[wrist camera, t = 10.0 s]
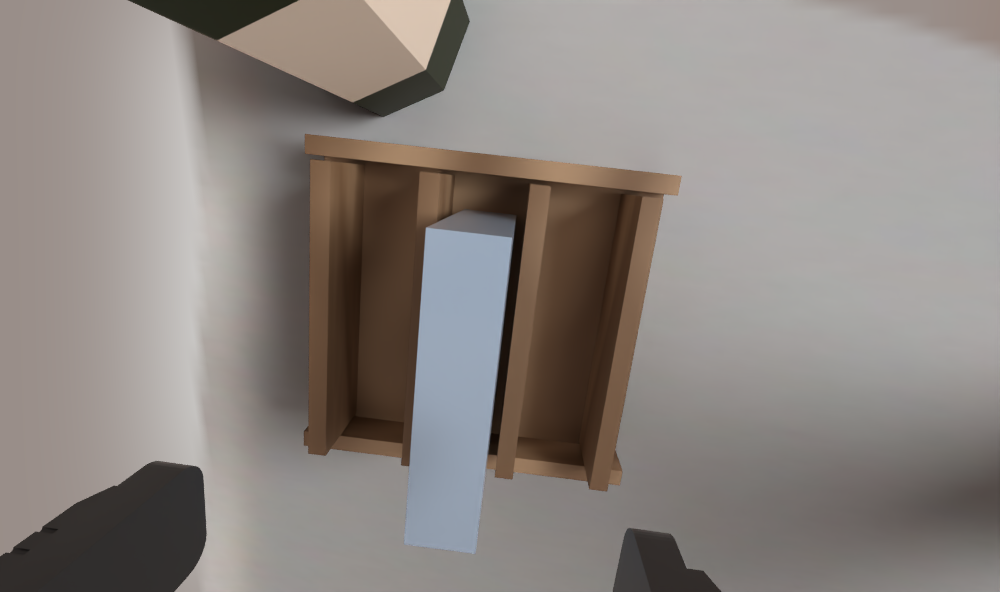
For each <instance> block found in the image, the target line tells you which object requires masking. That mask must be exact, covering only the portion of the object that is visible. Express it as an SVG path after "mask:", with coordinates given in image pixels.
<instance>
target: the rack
mask: <svg viewBox="0 0 1000 592" xmlns="http://www.w3.org/2000/svg"><path fill="white" fill-rule="evenodd" d="M305 154H313V155H321V156H324V161H323V160H313V159H310V274H309V426H308V427H307V428H306V429H305V431H304V445H305V446H308V454H316V455H324V456H326V454H327V453H328V452H329V450H330V449H337V450H345V451H353V452H361V453H368V454H376V455H384V456H392V457H400V458H402V461H401V465H403V466H409V465H410V451H411V436H412V422H413V407H414V393H415V379H416V364H417V350H418V335H419V321H420V306H421V292H422V278H423V263H424V249H425V234H426V227H428V226H430V225H433V224H435V223H437V222H439V221H441V220H443V219H445V218H447V217H449V216H451V215H453V214H456V213H458V212H460V211H462V210H464V209H469V210H477V211H486V212H495V213H503V214H512V215H517V218H516V226H515V235H514V243H513V252H512V260H511V269H510V277H509V286H508V294H507V303H506V312H505V320H504V329H503V337H502V346H501V354H500V363H499V371H498V380H497V388H496V397H495V405H494V414H493V422H492V430H491V438H490V445H489V453H488V461H487V469H495V470H496V471H495V477H497V478H505V479H512V478H513V472H518V473H526V474H534V475H542V476H550V477H558V478H566V479H574V480H582V481H588V485H589V489H592V490H600V491H607V489H608V484H613V485H620V481H621V476H622V468H621V465H620V463H619V460H618V457H617V454H616V451H615V448H616V443H617V437H618V432H619V427H620V422H621V417H622V412H623V406H624V401H625V396H626V391H627V386H628V380H629V375H630V370H631V365H632V360H633V355H634V349H635V344H636V339H637V334H638V329H639V324H640V318H641V313H642V308H643V303H644V298H645V293H646V287H647V282H648V277H649V272H650V267H651V261H652V256H653V251H654V246H655V241H656V236H657V230H658V225H659V220H660V215H661V210H662V205H663V196H664V194H668V195H678V192H679V187H680V182H681V177H682V176H677V175H668V174H660V173H651V172H642V171H633V170H624V169H615V168H606V167H597V166H588V165H579V164H570V163H561V162H552V161H543V160H534V159H525V158H516V157H507V156H498V155H489V154H480V153H471V152H462V151H453V150H444V149H435V148H426V147H417V146H408V145H399V144H390V143H381V142H372V141H363V140H354V139H345V138H336V137H328V136H319V135H310V134H305Z"/></svg>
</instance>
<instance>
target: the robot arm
mask: <svg viewBox="0 0 1000 592" xmlns="http://www.w3.org/2000/svg"><path fill="white" fill-rule="evenodd" d="M205 542H206V516H205V499H204V481H203V474H202V471H201V470H200V468H198V467H196V466H190V465H183V464H176V463H168V462H161V461H155V462H151V463H149V464H147V465H146V466H144V467H143V468H141V469H140V470H139V471H137V472H136V473H134V474H133V475H132V476H130V477H129V478H128V479H126V480H125V481H124V482H122V483H121V484H119V485H118V486H113V487H110V488H108V489H106V490H104V491H102V492H99V493H97V494H95V495H93V496H91V497H89V498H87V499H84V500H82V501H80V502H78V503H76V504H74V505H73V506H71V507H70V508H69V509H67V510H66V511H64V512H63V513H62V514H60V515H59V516H58V517H56V518H54V519H53V520H52V521H50V522H49V523H47V524H46V525H44V526H43V528H42V530H41V531H40V532H35V533H33V534H32V535H30V536H29V537H27V538H26V539H25V540H23V541H22V542H20V543H19V544H18V545H16V546H15V547H14V548H13V551H12V552H11V553H5V554H3V555H2V556H0V592H174V591H175V590H176V589H177V588H178V587H179V586H180V584H181V583H182V582H183V581H184V580H185V579H186V577H188V575H189V574H190V573H191V572H192V570H193V569H194V568H195V566H196V564H197V563H198V561H199V559H200V557H201V555H202V552H203V549H204V546H205ZM613 592H721V591H720V590H719V589H718V587H717V586H716V585H715V584H714V583H713V582H712V581H711V579H710V578H709V577H708V576H707V575H706V574H705V573H704V571H700V570H693V569H686V566H685V564H684V561H683V559H682V556H681V554H680V551H679V549H678V546H677V544H676V541H675V539H674V538H673V536H672V535H671V534H668V533H661V532H653V531H646V530H639V529H632V528H628V529H627V531H626V533H625V536H624V540H623V545H622V550H621V554H620V559H619V564H618V569H617V573H616V578H615V583H614V588H613Z"/></svg>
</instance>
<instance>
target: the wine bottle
mask: <svg viewBox="0 0 1000 592" xmlns="http://www.w3.org/2000/svg"><path fill="white" fill-rule="evenodd" d="M129 1H131V2H133V3H135V4H137V5H140V6H142V7H144V8H146V9H148V10H151V11H153V12H155V13H157V14H159V15H161V16H164V17H166V18H168V19H170V20H172V21H175V22H177V23H179V24H181V25H183V26H186V27H188V28H190V29H192V30H194V31H197V32H199V33H201V34H203V35H205V36H208V37H210V38H212V39H214V40H216V41H219V42H221V43H223V44H225V45H227V46H229V47H232V48H234V49H236V50H238V51H240V52H243V53H245V54H247V55H249V56H251V57H254V58H256V59H258V60H260V61H262V62H265V63H267V64H269V65H271V66H273V67H276V68H278V69H280V70H282V71H284V72H287V73H289V74H291V75H293V76H295V77H298V78H300V79H302V80H304V81H306V82H308V83H311V84H313V85H315V86H317V87H319V88H322V89H324V90H326V91H328V92H330V93H333V94H335V95H337V96H339V97H341V98H344V99H346V100H348V101H350V102H352V103H355V104H357V105H359V106H361V107H364V108H366V109H368V110H370V111H372V112H375V113H377V114H379V115H381V116H383V117H384V116H386V115H389V114H391V113H393V112H395V111H398V110H400V109H402V108H405V107H407V106H409V105H411V104H414V103H416V102H418V101H420V100H423V99H425V98H427V97H430V96H432V95H434V94H436V93H439V92H441V91H443V90H444V88H445V86H446V83H447V80H448V78H449V75H450V72H451V70H452V67H453V64H454V62H455V59H456V56H457V54H458V51H459V48H460V46H461V43H462V40H463V38H464V35H465V32H466V30H467V27H468V24H469V22H470V21H469V18H468V15H467V12H466V9H465V6H464V3H463V0H129Z"/></svg>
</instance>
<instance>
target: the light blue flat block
mask: <svg viewBox="0 0 1000 592" xmlns="http://www.w3.org/2000/svg"><path fill="white" fill-rule="evenodd" d="M516 218H517V215H512V214H503V213H495V212H486V211H477V210H469V209H464V210H462V211H460V212H458V213H456V214H453V215H451V216H449V217H447V218H445V219H443V220H441V221H439V222H437V223H435V224H433V225H430V226H428V227H426V234H425V249H424V263H423V278H422V292H421V306H420V321H419V335H418V350H417V364H416V379H415V393H414V407H413V422H412V436H411V451H410V465H409V480H408V494H407V508H406V523H405V537H404V545H412V546H420V547H427V548H435V549H442V550H450V551H458V552H465V553H473V554H475V553H476V546H477V538H478V530H479V522H480V515H481V507H482V499H483V492H484V484H485V476H486V469H487V461H488V453H489V445H490V438H491V430H492V422H493V414H494V405H495V397H496V388H497V380H498V371H499V363H500V354H501V346H502V337H503V329H504V320H505V312H506V303H507V294H508V286H509V277H510V269H511V260H512V252H513V243H514V235H515V226H516Z"/></svg>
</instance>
